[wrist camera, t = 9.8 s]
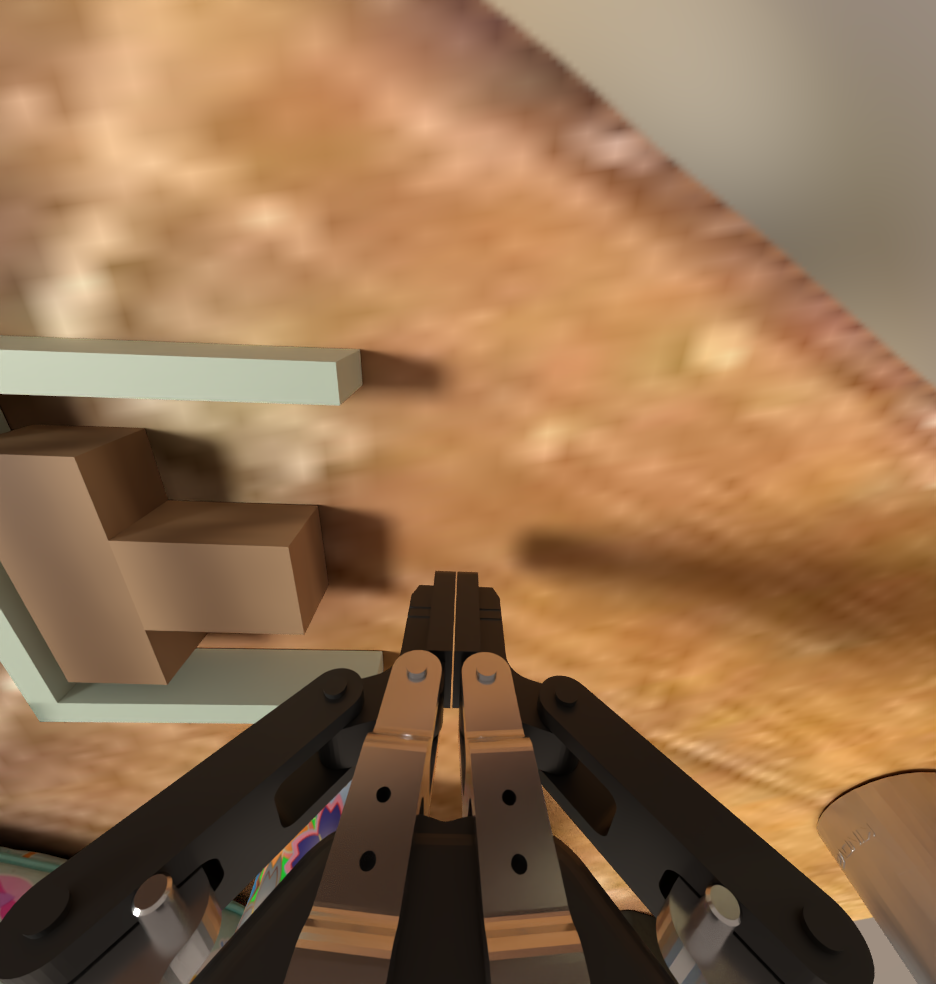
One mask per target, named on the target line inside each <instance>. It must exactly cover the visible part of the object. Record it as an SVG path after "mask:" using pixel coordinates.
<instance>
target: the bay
mask: <svg viewBox="0 0 936 984" xmlns="http://www.w3.org/2000/svg"><path fill="white" fill-rule="evenodd" d="M362 385H363V383H362V369H361V356H360V349H339V348H313V347H288V346H262V345H236V344H210V343H184V342H158V341H132V340H106V339H80V338H54V337H28V336H2V335H0V394H18V395H47V396H76V397H106V398H135V399H165V400H194V401H223V402H253V403H282V404H311V405H341V404H342V403H343V402H344V401H345V400H347V399H348V398H349V397H350V396H351V395H352V394H353V393H354V392H355V391H356V390H358V389H359V388H360V387H361V386H362ZM9 431H11V430H10V428H9V426H8V423H7V421H6V419H5V417H4V415H3V413H2V411H1V409H0V434H2V433H5V432H9ZM0 661H1V663H2V664H3V666H4V667H5V669H6V670H7V672H8V673H9V675H10V676H11V678H12V680H13V681H14V683H15V684H16V686H17V687H18V689H19V690H20V692H21V693H22V695H23V696H24V698H25V699H26V701H27V703H28V704H29V706H30V707H31V709H32V710H33V712H34V713H35V715H36V716H37V718H38V719H39V721H40V722H140V723H251V724H254V723H256V722H257V721H259V720H260V719H261V718H263V717H264V716H265V715H267V714H268V713H269V712H271V711H272V710H274V709H275V708H276V707H278V706H279V705H280V704H282V703H283V702H284V701H286V700H287V699H289V698H290V697H291V696H293V695H294V694H295V693H297V692H298V691H300V690H301V689H302V688H304V687H305V686H306V685H308V684H309V683H310V682H312V681H313V680H315V679H316V678H317V677H319V676H320V675H322V674H323V673H325V672H327V671H329V670H332V669H337V668H347V669H351V670H353V671H355V672H356V673H358V674H359V675H360V677H361V679H362V678H365V677H369V676H373V675H377V674H380V673H382V672H383V669H384V666H383V653H382V651H343V650H276V649H208V648H196V649H195V650H194V651H193V652H192V654H191V655H190V656H189V658H188V659H187V660H186V661H185V663H184V664H183V665H182V667H181V668H180V669H179V670H178V672H177V673H176V674H175V676H174V677H173V678H172V680H171V681H170V682H169V683H168V685H153V684H117V683H81V682H68V680H67V679H66V677H65V675H64V673H63V672H62V670H61V668H60V666H59V664H58V663H57V661H56V659H55V657H54V656H53V654H52V652H51V650H50V648H49V647H48V645H47V643H46V641H45V640H44V638H43V636H42V634H41V632H40V631H39V629H38V627H37V625H36V624H35V622H34V620H33V618H32V616H31V615H30V613H29V611H28V609H27V608H26V606H25V604H24V602H23V600H22V599H21V597H20V595H19V593H18V592H17V590H16V588H15V586H14V584H13V583H12V581H11V579H10V577H9V576H8V574H7V572H6V570H5V568H4V567H3V565H2V563H1V561H0Z"/></svg>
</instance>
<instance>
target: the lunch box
mask: <svg viewBox="0 0 936 984" xmlns="http://www.w3.org/2000/svg"><path fill="white" fill-rule="evenodd" d="M66 861H67V859H63V858H59V857H55V856H51V855H47V854H43V853H37V852H31V851H24V850H14V849H10V848H6V847H0V922H1V921H2V919H3V918H4V916H5V915H6V914H7V912H8V911H9V910H10V909H11V907H12V906H13V905H14V904H15V903H16V902H17V901H18V900H19V899H20V897H21V896H22V895H23V894H25V893H26V892H27V891H28V890H29V889H30V888H31V887H32V886H34V885H35V884H36V883H37V882H39V881H40V880H41V879H43V878H44V877H45V876H47V875H48V874H50V873H51V872H52V871H54V870H55V869H56V868H58V867H59V866H60V865H62V864H63V863H65V862H66ZM244 910H245V906H243V905H241V904H240V903H238V902H235V901H233V900H232V901H231V902H230V903H229V904H228V905H227V906H226V907H225V908H224V909H223V910H222V920H221V927H220V931H219V934H218V937H217V940H216V942H215V945H214V946H213V948H212V950H211V952H210V954H209V956H208V957H207V959H206V960H205V962H204V963H203V964H202V966H201V967H200V968H199V969H198V971H197V972H196V973H195V974H194V976H193V977H192V978H191V980H190V981H189V983H188V984H190V983H191V982H192V981H193V980H194V978H195V977H196V976H197V975H198V974H199V973H200V972H201V971H202V969H203V968H204V967H205V966H206V965H207V964H208V963H209V962H210V960H211V959H212V958H213V957H214V956H215V955H216V954H217V953H218V951H219V950H220V949H221V948H222V947H223V946H224V945H225V944H226V942H227V941H228V940H229V939H230V938H231V937H232V936H233V935H234V933H235V931H236V929H237V926H238V924H239V922H240V919H241V917H242V915H243V912H244ZM0 984H3V983H2V982H0Z"/></svg>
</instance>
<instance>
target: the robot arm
mask: <svg viewBox="0 0 936 984" xmlns="http://www.w3.org/2000/svg"><path fill="white" fill-rule="evenodd" d="M455 577H456V572H450V571H435V578H434V586H430V585H419V586H418V588H417V589H416V590H415V591H414V593H413V594H412V596H411V601H410V607H409V612H408V618H407V622H406V628H405V633H404V639H403V644H402V649H401V654H400V657H399V658H398V659H397V660H396V661H395V663H394V664H393V666H392V667H391V668H389V669H388V670H386V671H385V672H382V673H380V674H377V675H373V676H369V677H365V678H362V679H361V677H360V675H359V674H358V673H356V672H355V671H353V670H351V669H347V668H337V669H332V670H329V671H327V672H325V673H323V674H322V675H320V676H319V677H317V678H316V679H315V680H313V681H312V682H310V683H309V684H308V685H306V686H305V687H304V688H302V689H301V690H300V691H298V692H297V693H295V694H294V695H293V696H291V697H290V698H289V699H287V700H286V701H284V702H283V703H282V704H280V705H279V706H278V707H276V708H275V709H274V710H272V711H271V712H269V713H268V714H267V715H265V716H264V717H263V718H261V719H260V720H259V721H257V722H256V723H254V724H253V725H252V726H250V727H249V728H248V729H246V730H245V731H244V732H242V733H241V734H239V735H238V736H237V737H235V738H234V739H233V740H231V741H230V742H228V743H227V744H226V745H224V746H223V747H222V748H220V749H219V750H218V751H216V752H215V753H213V754H212V755H211V756H209V757H208V758H207V759H205V760H204V761H203V762H201V763H200V764H198V765H197V766H196V767H194V768H193V769H192V770H190V771H189V772H187V773H186V774H185V775H183V776H182V777H181V778H179V779H178V780H177V781H175V782H174V783H172V784H171V785H170V786H168V787H167V788H166V789H164V790H163V791H162V792H160V793H159V794H157V795H156V796H155V797H153V798H152V799H151V800H149V801H148V802H147V803H145V804H144V805H142V806H141V807H140V808H138V809H137V810H136V811H134V812H133V813H131V814H130V815H129V816H127V817H126V818H125V819H123V820H122V821H121V822H119V823H118V824H116V825H115V826H114V827H112V828H111V829H110V830H108V831H107V832H106V833H104V834H103V835H101V836H100V837H99V838H97V839H96V840H95V841H93V842H92V843H91V844H89V845H88V846H86V847H85V848H84V849H82V850H81V851H80V852H78V853H77V854H75V855H74V856H73V857H71V858H70V859H69V860H67V861H66V862H65V863H63V864H62V865H60V866H59V867H58V868H56V869H55V870H54V871H52V872H51V873H50V874H48V875H47V876H45V877H44V878H43V879H41V880H40V881H39V882H37V883H36V884H35V885H34V886H32V887H31V888H30V889H29V890H28V891H27V892H26V893H25V894H23V895H22V896H21V897H20V899H19V900H18V901H17V902H16V903H15V904H14V905H13V906H12V907H11V909H10V910H9V911H8V912H7V914H6V915H5V916H4V918H3V919H2V921H1V922H0V982H2V983H3V984H188V983H189V981H190V980H191V978H192V977H193V976H194V974H195V973H196V972H197V971H198V969H199V968H200V967H201V966H202V964H203V963H204V962H205V960H206V959H207V957H208V956H209V954H210V952H211V950H212V948H213V946H214V945H215V942H216V940H217V937H218V934H219V931H220V927H221V920H222V910H223V909H224V908H225V907H226V906H227V905H228V904H229V903H230V902H231V901H232V900H233V899H234V898H235V897H236V896H237V895H238V894H239V893H240V892H241V891H242V890H243V889H244V888H245V887H246V886H247V885H248V884H249V883H250V882H251V881H252V880H253V879H254V878H255V877H256V876H257V875H258V874H259V873H260V872H261V871H262V870H263V869H264V868H265V867H266V866H267V865H268V864H269V863H270V862H271V861H272V860H273V859H274V858H275V857H276V856H277V855H278V854H279V853H280V852H281V851H282V850H283V849H284V848H285V847H286V846H287V845H288V844H289V843H290V842H291V841H292V840H293V839H294V838H295V837H296V836H297V835H298V834H299V833H300V832H301V831H302V830H303V829H304V828H305V827H306V826H307V824H308V823H309V822H310V821H311V820H312V819H313V818H314V817H315V816H316V815H317V814H318V813H319V812H320V811H321V810H322V809H323V808H324V807H325V806H326V805H327V804H328V803H329V802H330V801H331V800H332V799H333V798H334V797H335V796H336V795H337V794H338V793H339V792H340V791H341V790H342V789H343V788H344V787H345V786H346V785H347V784H348V783H349V782H350V781H351V780H352V782H351V785H350V788H349V791H348V795H347V798H346V801H345V804H344V808H343V811H342V814H341V817H340V820H339V824H338V827H337V830H336V831H334V832H332V833H331V834H329V835H327V836H326V837H325V838H323V839H322V840H321V841H319V842H318V843H317V844H316V845H315V846H313V847H312V848H311V849H310V850H309V851H308V852H307V853H306V854H305V855H304V856H303V857H302V858H301V859H300V860H299V861H298V863H297V864H296V865H295V866H294V867H293V868H292V869H291V870H290V872H289V873H288V874H287V875H286V876H285V877H284V878H283V879H282V881H281V882H280V883H279V884H278V885H277V886H276V887H275V888H274V890H273V891H272V892H271V893H270V894H269V895H268V896H267V897H266V899H265V900H264V901H263V902H262V903H261V904H260V905H259V906H258V908H257V909H256V910H255V911H254V912H253V913H252V914H251V915H250V917H249V918H248V919H247V920H246V921H245V922H244V923H243V924H242V926H241V927H240V928H239V929H238V930H237V931H236V932H235V933H234V935H233V936H232V937H231V938H230V939H229V940H228V941H227V942H226V944H225V945H224V946H223V947H222V948H221V949H220V950H219V951H218V953H217V954H216V955H215V956H214V957H213V958H212V959H211V960H210V962H209V963H208V964H207V965H206V966H205V967H204V968H203V969H202V971H201V972H200V973H199V974H198V975H197V976H196V977H195V978H194V980H193V981H192V982H191V983H190V984H676V983H675V982H674V980H673V979H672V978H671V977H670V975H669V974H668V973H667V971H666V970H665V969H664V967H663V966H662V965H661V963H660V962H659V961H658V960H657V958H656V957H655V956H654V954H653V953H652V952H651V950H650V949H649V948H648V947H647V945H646V944H645V943H644V941H643V940H642V939H641V937H640V936H639V935H638V933H637V932H636V931H635V930H634V928H633V927H632V926H631V924H630V923H629V922H628V920H627V919H626V918H625V917H624V915H623V914H622V913H621V911H620V910H619V909H618V907H617V906H616V905H615V903H614V902H613V901H612V900H611V898H610V897H609V896H608V894H607V893H606V892H605V890H604V889H603V888H602V887H601V885H600V884H599V883H598V881H597V880H596V879H595V877H594V876H593V875H592V873H591V872H590V871H589V870H588V868H587V867H586V866H585V864H584V863H583V862H582V861H581V859H580V858H579V857H578V856H577V855H576V854H575V853H574V852H573V851H572V850H571V849H570V848H569V847H568V846H567V845H565V844H564V843H563V842H562V841H561V840H559V839H558V838H556V837H555V836H553V835H552V831H551V826H550V822H549V817H548V813H547V808H546V804H545V799H544V795H543V790H542V786H543V787H544V788H545V789H546V790H547V791H548V793H549V794H550V795H551V796H552V797H553V798H554V800H555V801H556V802H557V803H558V804H559V805H560V807H561V808H562V809H563V810H564V811H565V812H566V814H567V815H568V816H569V817H570V818H571V819H572V821H573V822H574V823H575V824H576V825H577V826H578V828H579V829H580V830H581V831H582V832H583V833H584V835H585V836H586V837H587V838H588V839H589V840H590V842H591V843H592V844H593V845H594V846H595V847H596V849H597V850H598V851H599V852H600V853H601V854H602V856H603V857H604V858H605V859H606V860H607V862H608V863H609V864H610V865H611V866H612V867H613V869H614V870H615V871H616V872H617V873H618V874H619V876H620V877H621V878H622V879H623V880H624V881H625V883H626V884H627V885H628V886H629V887H630V888H631V890H632V891H633V892H634V893H635V894H636V895H637V897H638V898H639V899H640V900H641V901H642V902H643V904H644V905H645V906H646V907H647V908H648V909H649V911H650V912H651V913H652V914H653V915H654V916H655V918H656V919H657V920H656V935H657V940H658V944H659V948H660V951H661V953H662V956H663V958H664V960H665V962H666V964H667V966H668V968H669V969H670V971H671V972H672V974H673V975H674V977H675V978H676V980H677V981H678V983H679V984H873V981H874V965H873V959H872V956H871V953H870V950H869V948H868V946H867V944H866V941H865V940H864V938H863V936H862V935H861V933H860V931H859V930H858V928H857V927H856V925H855V923H854V922H853V921H852V919H851V918H850V917H849V916H848V914H847V913H846V912H845V911H844V910H843V909H842V908H841V907H840V906H839V905H838V904H837V903H836V902H835V901H834V900H833V899H832V898H831V897H830V896H829V895H827V894H826V893H825V892H824V891H823V890H822V889H820V888H819V887H818V886H817V885H816V884H815V883H813V882H812V881H811V880H810V879H809V878H808V877H806V876H805V875H804V874H803V873H802V872H801V871H799V870H798V869H797V868H796V867H795V866H794V865H792V864H791V863H790V862H789V861H788V860H787V859H785V858H784V857H783V856H782V855H781V854H779V853H778V852H777V851H776V850H775V849H774V848H772V847H771V846H770V845H769V844H768V843H767V842H765V841H764V840H763V839H762V838H761V837H760V836H758V835H757V834H756V833H755V832H754V831H753V830H751V829H750V828H749V827H748V826H747V825H746V824H744V823H743V822H742V821H741V820H740V819H739V818H737V817H736V816H735V815H734V814H733V813H732V812H730V811H729V810H728V809H727V808H726V807H725V806H723V805H722V804H721V803H720V802H719V801H718V800H716V799H715V798H714V797H713V796H712V795H711V794H709V793H708V792H707V791H706V790H705V789H704V788H702V787H701V786H700V785H699V784H698V783H697V782H695V781H694V780H693V779H692V778H691V777H690V776H688V775H687V774H686V773H685V772H684V771H683V770H681V769H680V768H679V767H678V766H677V765H676V764H674V763H673V762H672V761H671V760H670V759H669V758H667V757H666V756H665V755H664V754H663V753H662V752H660V751H659V750H658V749H657V748H656V747H654V746H653V745H652V744H651V743H650V742H649V741H647V740H646V739H645V738H644V737H643V736H642V735H640V734H639V733H638V732H637V731H636V730H635V729H633V728H632V727H631V726H630V725H629V724H628V723H626V722H625V721H624V720H623V719H622V718H621V717H619V716H618V715H617V714H616V713H615V712H614V711H612V710H611V709H610V708H609V707H608V706H607V705H605V704H604V703H603V702H602V701H601V700H600V699H598V698H597V697H596V696H595V695H594V694H593V693H591V692H590V691H589V690H588V689H587V688H586V687H584V686H583V685H582V684H581V683H579V682H578V681H576V680H575V679H572V678H570V677H566V676H553V677H550V678H548V679H546V680H545V681H544V682H543V683H542V684H541V683H538V682H535V681H532V680H529V679H527V678H524V677H522V676H520V675H519V674H518V673H516V672H515V671H514V670H513V669H512V668H511V667H510V665H509V663H508V661H507V659H506V653H505V643H504V634H503V625H502V616H501V607H500V598H499V596H498V595H497V594H496V592H495V591H494V589H493V588H489V587H479V586H478V572H458V573H457V596H456V621H455V649H454V677H453V705H452V708H459V729H458V742H459V759H460V777H461V795H462V818H460V819H456V820H453V821H449V822H443V821H439V820H436V819H433V818H430V817H429V814H430V804H431V796H432V789H433V782H434V775H435V768H436V760H437V753H438V746H439V739H440V730H441V728H442V723H443V708H450V699H451V675H452V651H453V626H454V602H455ZM541 784H542V786H541ZM817 830H818V834H819V836H820V837H821V839H822V840H823V842H824V843H825V845H826V846H827V848H828V849H829V851H830V852H831V854H832V855H833V857H834V858H835V860H836V861H837V863H838V864H839V866H840V867H841V869H842V870H843V872H844V873H845V875H846V876H847V878H848V879H849V881H850V882H851V884H852V885H853V887H854V888H855V890H856V891H857V893H858V894H859V896H860V897H861V899H862V900H863V902H864V903H865V905H866V906H867V908H868V909H869V911H870V913H871V914H872V916H873V917H874V919H875V920H876V922H877V923H878V925H879V926H880V928H881V929H882V931H883V932H884V934H885V935H886V937H887V938H888V940H889V941H890V943H891V944H892V946H893V947H894V949H895V950H896V952H897V953H898V955H899V956H900V958H901V959H902V961H903V962H904V964H905V965H906V967H907V969H908V970H909V971H910V973H911V974H912V976H913V978H914V979H915V981H916V982H917V983H918V984H936V773H935V772H917V773H907V774H900V775H896V776H891V777H886V778H883V779H880V780H877V781H874V782H871V783H868V784H866V785H863V786H861V787H859V788H856V789H854V790H852V791H851V792H849V793H847V794H845V795H843V796H842V797H840V798H839V799H838V800H836V801H835V802H834V803H832V804H831V805H830V806H829V807H828V808H827V809H826V810H825V811H824V812H823V813H822V815H821V817H820V819H819V820H818V825H817Z"/></svg>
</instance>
